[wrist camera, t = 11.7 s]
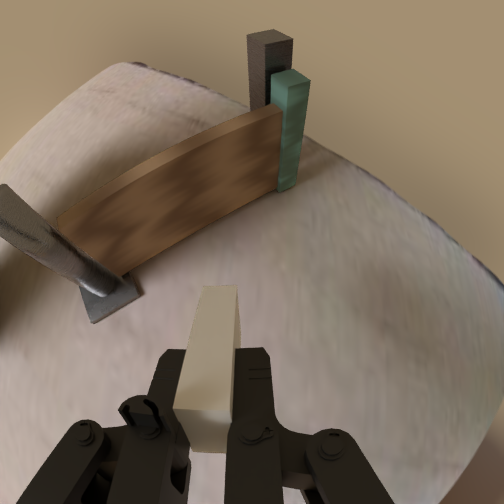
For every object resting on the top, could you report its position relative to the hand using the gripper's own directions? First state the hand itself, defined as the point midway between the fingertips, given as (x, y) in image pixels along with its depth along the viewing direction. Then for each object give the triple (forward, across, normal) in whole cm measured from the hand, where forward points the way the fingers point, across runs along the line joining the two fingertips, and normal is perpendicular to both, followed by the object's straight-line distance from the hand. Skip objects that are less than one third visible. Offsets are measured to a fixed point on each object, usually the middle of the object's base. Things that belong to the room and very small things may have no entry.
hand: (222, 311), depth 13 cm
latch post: (+21, +4, +4) cm, 21 cm away
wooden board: (+16, -3, 0) cm, 16 cm away
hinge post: (+12, -13, -5) cm, 19 cm away
